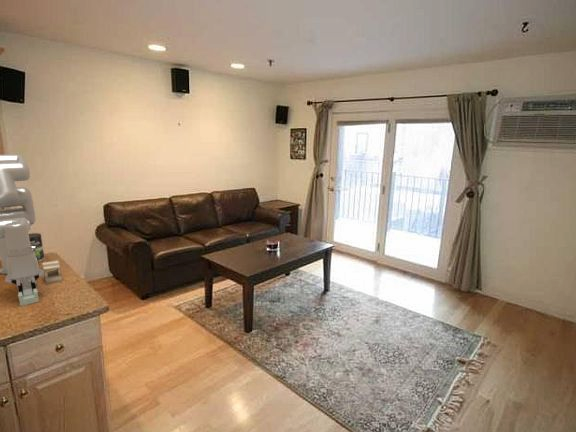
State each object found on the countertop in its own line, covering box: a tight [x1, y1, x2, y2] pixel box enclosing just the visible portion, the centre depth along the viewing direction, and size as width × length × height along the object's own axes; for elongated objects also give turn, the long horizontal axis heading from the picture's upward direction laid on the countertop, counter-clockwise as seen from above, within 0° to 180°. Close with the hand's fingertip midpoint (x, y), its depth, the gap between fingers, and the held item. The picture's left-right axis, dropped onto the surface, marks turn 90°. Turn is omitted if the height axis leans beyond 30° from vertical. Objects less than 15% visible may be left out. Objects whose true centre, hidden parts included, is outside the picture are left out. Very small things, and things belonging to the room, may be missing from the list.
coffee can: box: [28, 232, 46, 263], centre depth 179 cm, size 10×10×14 cm
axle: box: [20, 277, 33, 297], centre depth 143 cm, size 16×3×3 cm, turn 40°
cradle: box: [17, 280, 40, 307], centre depth 142 cm, size 18×6×4 cm, turn 40°
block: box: [41, 259, 63, 285], centre depth 158 cm, size 10×6×8 cm, turn 40°
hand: (27, 291), depth 140 cm, fingers closed on axle, 3 cm apart
